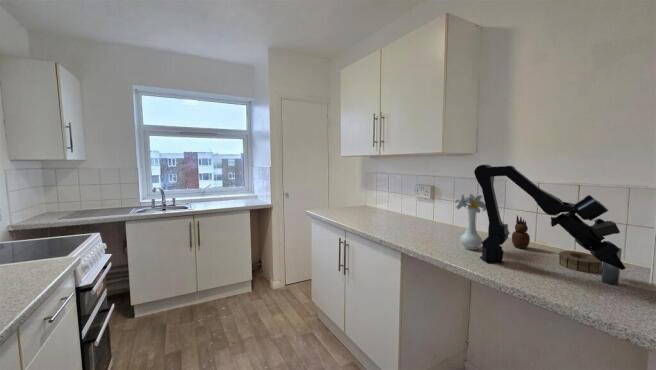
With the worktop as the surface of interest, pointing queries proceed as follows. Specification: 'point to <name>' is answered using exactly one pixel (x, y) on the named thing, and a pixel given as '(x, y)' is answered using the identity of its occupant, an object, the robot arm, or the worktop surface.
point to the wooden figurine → (520, 234)
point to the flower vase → (471, 220)
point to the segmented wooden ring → (580, 261)
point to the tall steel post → (611, 272)
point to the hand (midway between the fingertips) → (617, 263)
